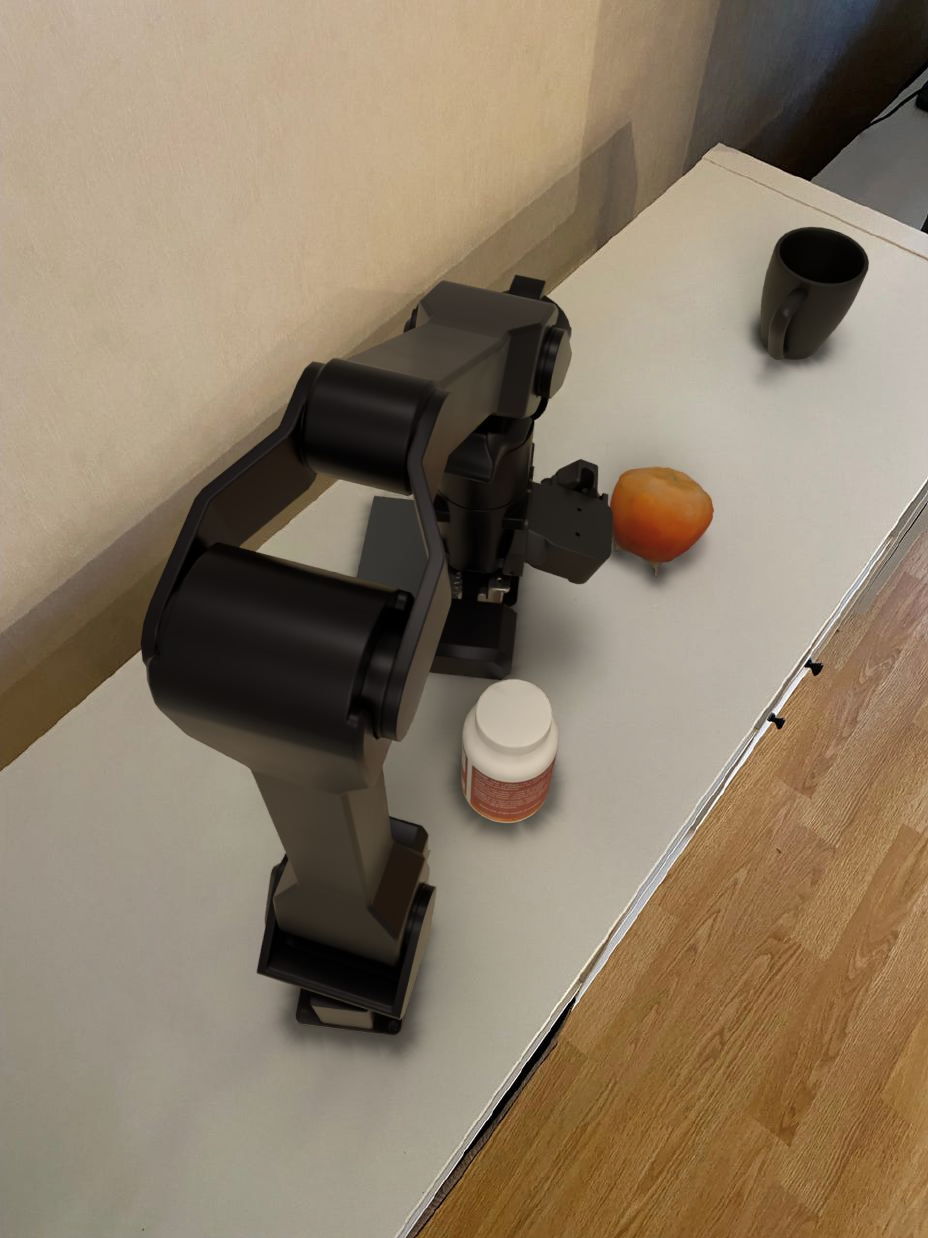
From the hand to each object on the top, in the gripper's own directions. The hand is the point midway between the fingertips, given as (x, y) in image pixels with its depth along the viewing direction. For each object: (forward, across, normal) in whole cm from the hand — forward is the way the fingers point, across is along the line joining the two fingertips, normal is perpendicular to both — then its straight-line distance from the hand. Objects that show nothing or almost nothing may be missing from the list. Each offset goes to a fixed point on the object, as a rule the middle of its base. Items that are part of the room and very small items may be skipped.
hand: (474, 614), depth 71 cm
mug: (+4, +36, -26) cm, 44 cm away
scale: (+4, +4, +4) cm, 7 cm away
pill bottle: (+4, -12, -4) cm, 13 cm away
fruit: (+4, +12, -14) cm, 18 cm away
